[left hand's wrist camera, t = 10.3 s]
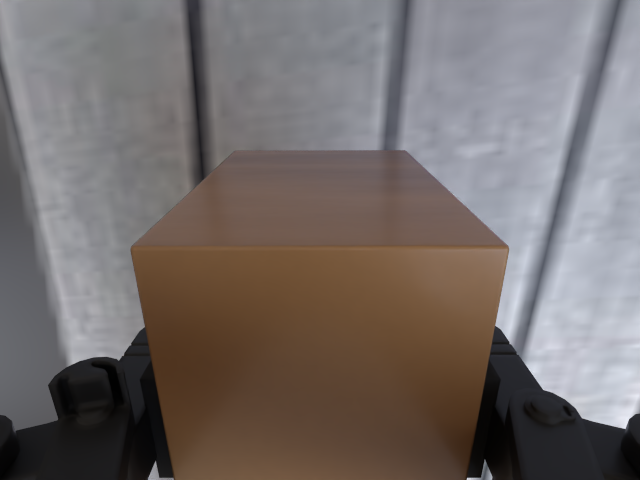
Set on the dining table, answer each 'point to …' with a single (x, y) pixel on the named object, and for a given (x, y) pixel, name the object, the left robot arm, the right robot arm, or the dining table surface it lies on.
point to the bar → (320, 319)
